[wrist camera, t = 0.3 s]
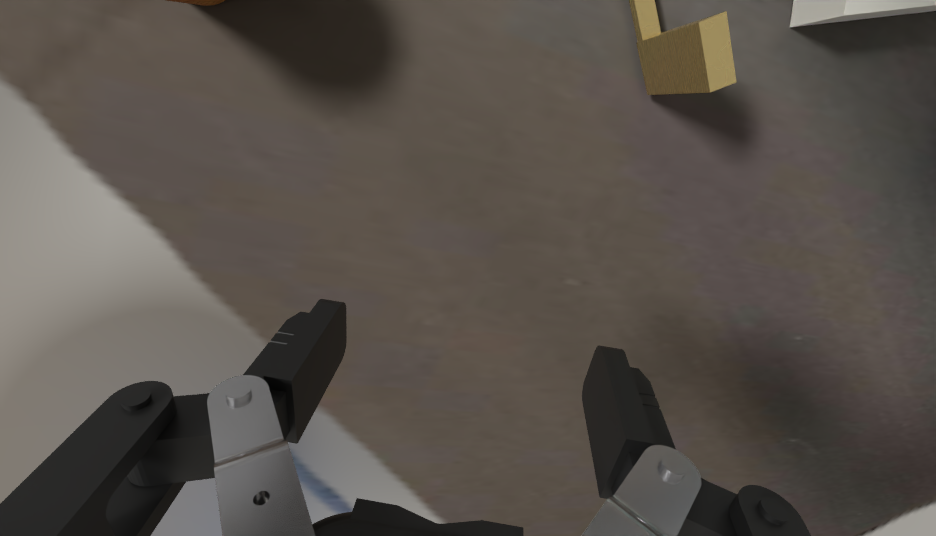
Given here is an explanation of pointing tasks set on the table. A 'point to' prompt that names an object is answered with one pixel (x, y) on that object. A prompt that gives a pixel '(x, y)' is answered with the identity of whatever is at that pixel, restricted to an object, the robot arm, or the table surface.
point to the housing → (853, 10)
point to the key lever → (683, 52)
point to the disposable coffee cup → (200, 2)
